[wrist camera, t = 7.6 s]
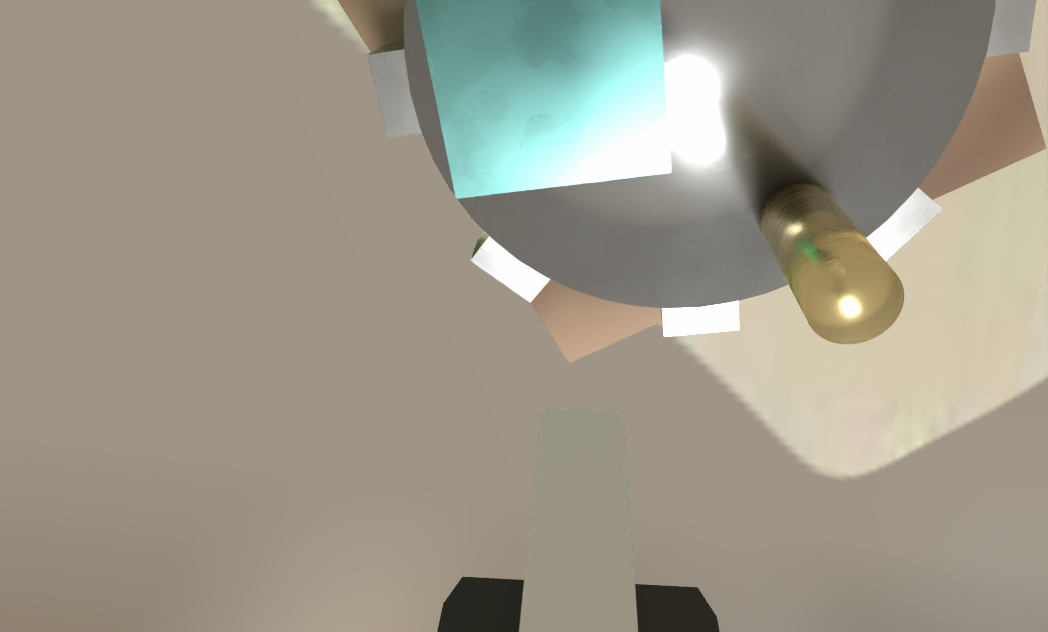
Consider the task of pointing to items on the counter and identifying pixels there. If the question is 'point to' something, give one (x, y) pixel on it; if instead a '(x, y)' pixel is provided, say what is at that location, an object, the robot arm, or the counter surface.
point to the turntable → (695, 142)
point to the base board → (973, 152)
